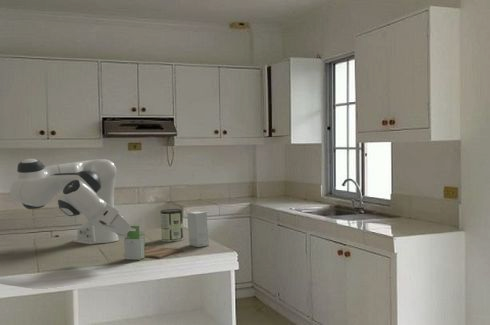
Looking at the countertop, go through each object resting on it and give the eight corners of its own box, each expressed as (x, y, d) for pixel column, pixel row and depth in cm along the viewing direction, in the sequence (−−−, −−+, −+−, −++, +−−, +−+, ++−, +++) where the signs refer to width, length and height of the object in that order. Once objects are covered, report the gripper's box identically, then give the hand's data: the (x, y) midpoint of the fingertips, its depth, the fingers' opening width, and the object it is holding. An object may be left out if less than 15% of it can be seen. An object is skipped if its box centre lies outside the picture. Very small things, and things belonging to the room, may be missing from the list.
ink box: (145, 258, 209) (144, 224, 209) (140, 260, 205) (138, 225, 205) (129, 257, 211) (128, 224, 211) (124, 259, 207) (123, 225, 207)
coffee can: (171, 237, 257) (170, 208, 257) (187, 238, 252) (186, 209, 251) (156, 240, 248) (155, 210, 248) (173, 242, 243) (172, 211, 242)
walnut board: (124, 255, 216) (124, 253, 216) (149, 248, 230) (149, 246, 230) (159, 258, 208) (159, 256, 208) (183, 251, 222) (183, 249, 221)
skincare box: (209, 245, 232) (208, 212, 231) (196, 247, 228) (195, 213, 228) (199, 243, 239) (198, 210, 238) (187, 245, 235) (186, 211, 235)
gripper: (82, 218, 205) (107, 239, 212) (107, 222, 190) (133, 246, 196) (93, 205, 208) (116, 227, 214) (118, 209, 192) (143, 232, 199)
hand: (124, 236), depth 205 cm, fingers closed
